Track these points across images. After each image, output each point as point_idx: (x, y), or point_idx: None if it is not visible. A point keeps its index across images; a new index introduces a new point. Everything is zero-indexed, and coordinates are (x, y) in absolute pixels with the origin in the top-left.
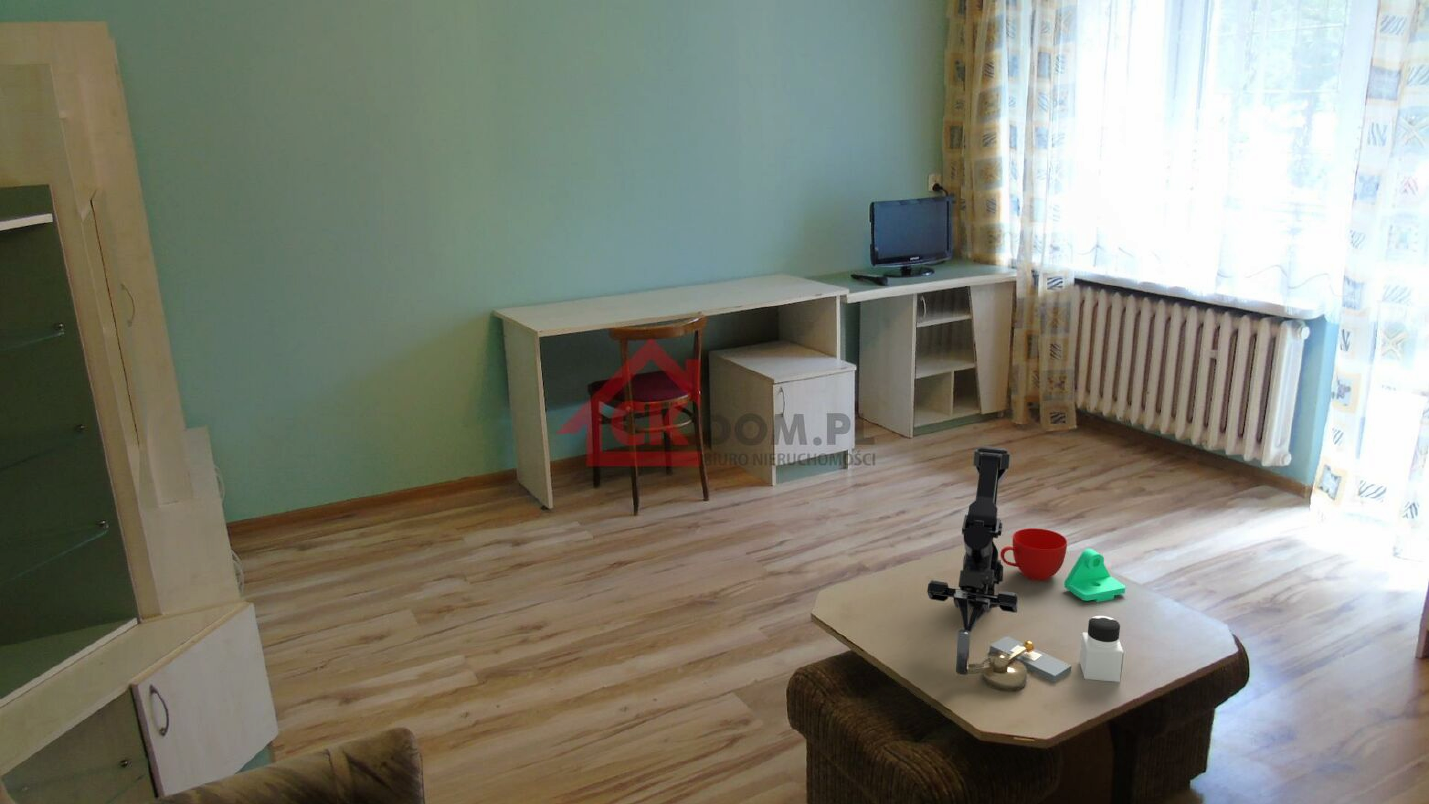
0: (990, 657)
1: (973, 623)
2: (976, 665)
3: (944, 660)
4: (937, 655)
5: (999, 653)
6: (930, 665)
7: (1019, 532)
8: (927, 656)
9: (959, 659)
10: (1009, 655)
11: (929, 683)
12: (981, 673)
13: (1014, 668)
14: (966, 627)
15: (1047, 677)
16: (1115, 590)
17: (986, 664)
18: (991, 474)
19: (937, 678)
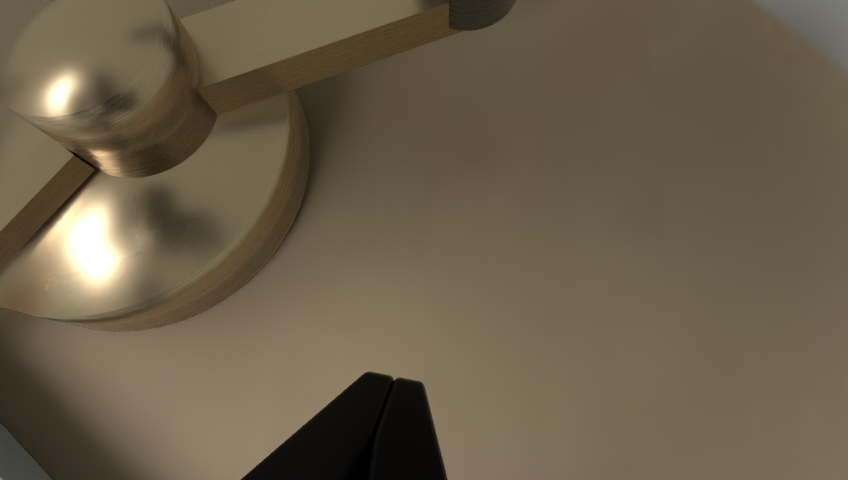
0: (173, 39)
1: (251, 474)
2: (333, 14)
3: (602, 379)
4: (671, 460)
5: (55, 71)
6: (715, 277)
7: None
8: (760, 426)
9: None
10: (2, 468)
11: (693, 32)
12: (303, 140)
13: (6, 128)
14: (395, 437)
15: None
16: None
17: (238, 42)
18: None
19: (641, 103)
